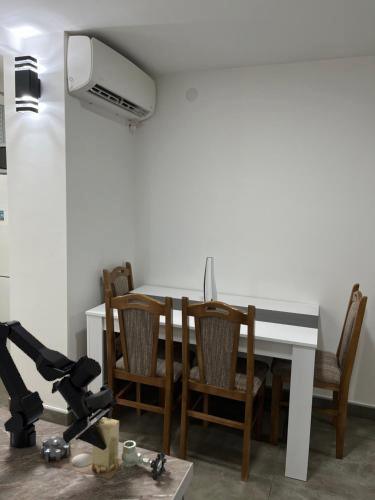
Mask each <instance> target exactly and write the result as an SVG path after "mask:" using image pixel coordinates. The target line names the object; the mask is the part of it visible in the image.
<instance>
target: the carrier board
mask: <svg viewBox="0 0 375 500" xmlns="http://www.w3.org/2000/svg"><path fill="white" fill-rule="evenodd" d="M32 461H35V462H40V463H43V464H47V465H50V466H54V467H55V466H56V467H60V468H64V469H67V470H71V471H76V472H79V473H82V474H88V475H91V476H92V475H93V476H96V477H100V478H102V479H103V478H104V479H108V480H111V478H112V477H113V476H114V475H115V473H116V472H117V470H118V469H119V468H120V466H122V465H123V461H122V458H119V457H118V464H117V469H116V470H113V471H111V472H110V474H106V473H100V474H97V472H96V471H95V470H92V451H87V450H84V449H80V448H74V447H71V451H70V452H69V457H68V458H64V459H62V460H60V462H57V463H56V461H55V462H49V463H47V462H45V460H44V459H43V458H42V459H41V458H40V453H38V454H37V455H36V456H35V457H34V458H33V459H32Z"/></svg>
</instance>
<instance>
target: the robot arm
mask: <svg viewBox="0 0 375 500" xmlns="http://www.w3.org/2000/svg"><path fill="white" fill-rule="evenodd" d="M8 340H9V341H11V343H13V344H14V345H15V346H16V347H17V348H18V349H20V350H21V352H23V353H24V354H25V355H26V356H27V357H28V358H29V359H31V360H32V361H33V362H34V364H35V368H36V371H37V373H39V375H40V376H41V377H42V378H43V379H44V380H45V381H46V382H50V383H51V382H52V388H51V394H55V393H56V392H57V393H59V394H60V395H61V397H62V398H63V400H64V401H65V402H66V403H67V405H68V406H67V408H66V410H67V412H71V411H72V412H73V414H74V416H75V417H76V418H77V419H76V420H75V421H74V423H72V424H71V425H70V426H69V427H68V428H67V429H66V430H64V431H63V432H62V436H63V439H64V441H65V442H66V443H69V442H70V441H72V440H73V439H75V441H78V440H80V441H83V442H84V443H88V444H89V445H91V446H92V445H94V446H96V447H97V448H99V449H101V450H105V449H106V446H105V444H104V442H103V440H102V439H101V437H100V436H99V434H98V433H97V431H96V425H95V424H96V423H97V422H98V421H99V420H100V419H101V418H103V417H105V418H109V419H112V413H113V410H114V407H113V406H114V405H115V404H116V403H118V399H116V397H115V396H114V395H113V394H114V390H113V389H112V387H110V385H109V384H104V385H102V386H101V387H100V388H99V391H97V392H95V393H94V392H93V391H92V390H90V389H88V390H86V387H88V386H89V385H90V384H92V382H93V381H95V379H97V378H98V377H100V375H101V373H102V367H101V365H100V362H99V361H97V360H96V359H94V358H91V357H88V355H87V354H84V355H82V356H81V357H80V358H79V359H78V361H76V360H73V359H70V358H69V357H67V356H66V355H65V354H63V353H62V352H60V351H58V350H54V349H50V348H48V346H46V345H44V343H43V342H41V341H40V340H39V339H38V338H37V337H35V336H34V335H33V334H32V333H30V331H28V330H27V329H26V328H25V327H23V326H22V323H21V322H20V321H19V320H16V319H15V320H11V321H4V322H2V321H0V380H1V382H2V384H3V386H4V388H5V391H6V392H7V394H8V396H9V400H10V402H9V403H10V404H9V412H10V418H8V419H7V420H6V421H5V422H4V424H3V426H4V430H5V432H7V433H9V444H10V445H11V446H12V447H13V448H14V449H19V450H20V449H29V448H30V449H31V448H32V447H33V446H35V445H36V444H37V431H36V424H35V423H36V422H39V421H40V418H41V417H42V416H43V414H44V410H45V406H44V403H45V402H44V400H42V398H41V396H40V393H39V391H37V390H35V391H31V390H30V389H28V387H27V384H26V383H25V381H24V379H23V377H22V375H21V373H20V371H19V368H18V367H17V365H16V363H15V361H14V359H13V356H12V354H11V353H10V351H9V349H8V346H7V345H8V344H7V342H8ZM57 379H58V380H57ZM95 419H96V421H94V423H92V422H93V420H95ZM76 436H77V437H76Z"/></svg>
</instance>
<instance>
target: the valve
mask: <svg viewBox="0 0 375 500" xmlns="http://www.w3.org/2000/svg"><path fill="white" fill-rule="evenodd" d="M136 446H137V442H136V441H134V440H127V441H124V442H123V446H122V452H121V457H120V458H121V459H122V461H123V463H122V466H123V467H126V468H132V467H135V466H140V465H144V466H146V467H149V466H150V468H151V472H150V473H151V475H152V480H155V481H156V480H157V479H158V478H159V476H160V475H161V474H162V472H164V471H165V470H166V467H165V464H166V463H167V462H168V461H167V458H165V457H166V453H165V452H161V453H159V452H158V453H157V455H156V458H155V459H152V460H151V458H149V457H145V456H144V454H143V453H142V452H137V450H136V448H137V447H136Z"/></svg>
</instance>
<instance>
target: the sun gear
mask: <svg viewBox="0 0 375 500" xmlns="http://www.w3.org/2000/svg"><path fill="white" fill-rule="evenodd" d="M71 441H72V440H71ZM71 441H70V442H69V443H66V442H65V441H64V439H63V435H62V436H60V437H56V436H51V438H49V439H47V440H45V439H44V440H43V441H42V442H41V443H42V445H41V446H40V447H39V449H40V451H39V454H40V458H41V459H42V458H43V459H44V460H45V462H47V463H49V462H55V461H56V463H57V462H60V460H62V459H64V458H68V457H69V452H70V451H71V448H72V447H71V445H72V443H71ZM47 463H46V464H47Z"/></svg>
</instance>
